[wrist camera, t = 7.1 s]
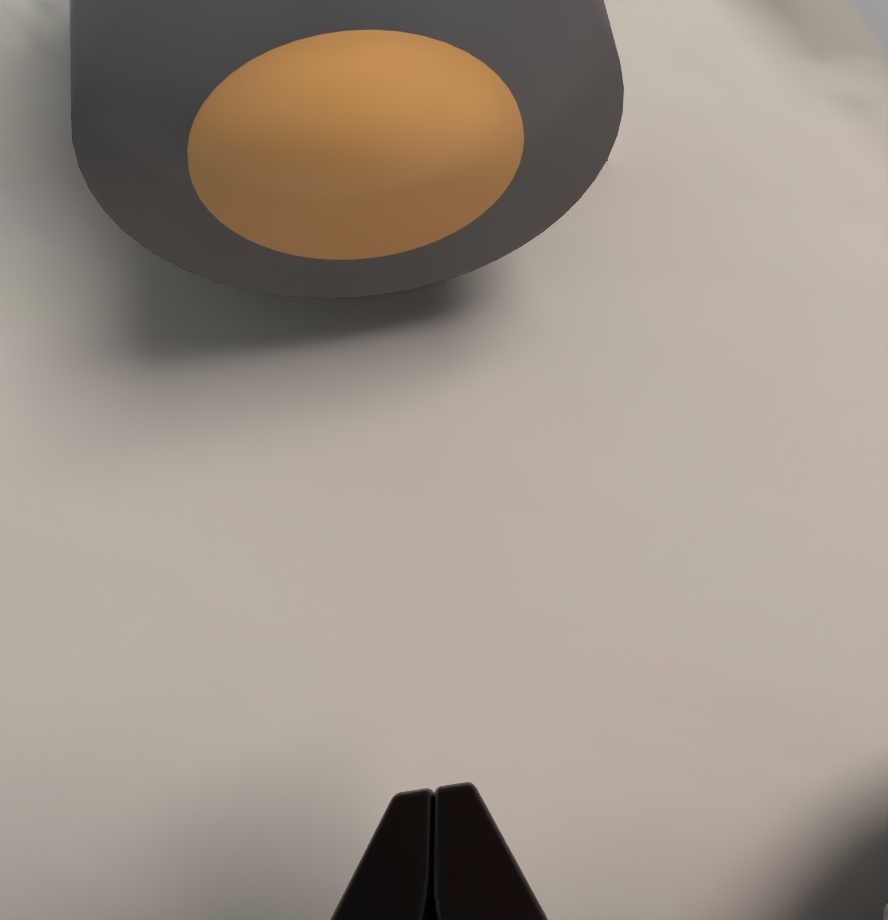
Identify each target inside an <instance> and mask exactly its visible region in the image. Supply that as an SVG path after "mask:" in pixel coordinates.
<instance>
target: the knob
mask: <svg viewBox="0 0 888 920" xmlns="http://www.w3.org/2000/svg"><path fill="white" fill-rule="evenodd" d="M70 39H71V120H72V140H73V145H74V149H75V153H76V157H77V161H78V165H79V168H80V170H81V172H82V174H83V176H84V178H85V181H86V183H87V185H88V187H89V189H90V191H91V192H92V194H93V195H94V197H95V198H96V199H97V201H98V202H99V204H100V205H101V207H102V208H103V209H104V211H105V212H106V213H107V214H108V215H109V216H110V217H111V218H112V219H113V220H114V221H115V222H116V223H117V224H118V226H119V227H120V228H121V229H122V230H124V231H125V232H126V233H127V234H129V235H130V236H131V237H132V238H134V239H135V240H136V241H137V242H139V243H140V244H141V245H142V246H144V247H145V248H147V249H149V250H150V251H152V252H153V253H155V254H157V255H158V256H160V257H161V258H163V259H165V260H167V261H169V262H171V263H173V264H175V265H177V266H179V267H181V268H183V269H185V270H187V271H189V272H192V273H194V274H197V275H200V276H202V277H205V278H208V279H210V280H213V281H216V282H220V283H223V284H227V285H230V286H234V287H237V288H242V289H247V290H252V291H257V292H261V293H267V294H275V295H283V296H291V297H308V298H348V297H361V296H373V295H380V294H386V293H393V292H400V291H404V290H409V289H414V288H418V287H423V286H427V285H430V284H434V283H437V282H441V281H444V280H448V279H451V278H454V277H456V276H459V275H462V274H465V273H467V272H470V271H473V270H475V269H478V268H480V267H482V266H484V265H486V264H489V263H491V262H493V261H495V260H497V259H499V258H501V257H503V256H505V255H507V254H509V253H510V252H512V251H514V250H516V249H518V248H519V247H521V246H523V245H524V244H526V243H527V242H529V241H530V240H532V239H533V238H535V237H536V236H538V235H539V234H541V233H542V232H543V231H545V230H546V229H547V228H548V227H550V226H551V225H552V224H553V223H555V222H556V221H557V220H558V219H559V218H561V217H562V216H563V215H564V214H565V213H566V212H567V211H568V210H569V209H570V208H571V207H572V206H573V205H574V204H575V203H576V202H577V201H578V200H579V199H580V198H581V197H582V195H583V194H584V193H585V192H586V190H587V189H588V188H589V186H590V185H591V184H592V183H593V181H594V180H595V179H596V177H597V175H598V174H599V172H600V170H601V169H602V167H603V165H604V164H605V162H606V160H607V159H608V156H609V154H610V152H611V149H612V147H613V144H614V142H615V140H616V137H617V134H618V130H619V125H620V121H621V117H622V113H623V93H624V86H623V79H622V72H621V65H620V60H619V56H618V53H617V49H616V45H615V41H614V38H613V34H612V30H611V26H610V22H609V19H608V15H607V11H606V7H605V4H604V0H70Z"/></svg>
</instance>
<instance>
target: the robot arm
mask: <svg viewBox="0 0 888 920" xmlns="http://www.w3.org/2000/svg"><path fill="white" fill-rule="evenodd" d="M331 920H548V919H547V917H546V915H545V913H544V911H543V910H542V908H541V906H540V904H539V902H538V900H537V899H536V897H535V895H534V893H533V891H532V889H531V888H530V886H529V884H528V882H527V880H526V878H525V876H524V875H523V873H522V871H521V869H520V867H519V865H518V864H517V862H516V860H515V858H514V856H513V854H512V853H511V851H510V849H509V847H508V845H507V843H506V842H505V840H504V838H503V836H502V834H501V832H500V831H499V829H498V827H497V825H496V823H495V821H494V819H493V818H492V816H491V814H490V812H489V810H488V808H487V807H486V805H485V803H484V801H483V799H482V797H481V796H480V794H479V792H478V790H477V788H476V787H475V786H474V785H473V784H472V783H470V782H466V783H459V784H453V785H446V786H440V787H438V788H437V789H436V791H435V793H434V792H433V791H432V790H430V789H427V788H426V789H420V790H413V791H406V792H400V793H397V794H396V795H395V796H394V797H393V798H392V800H391V801H390V803H389V805H388V807H387V809H386V811H385V813H384V815H383V817H382V819H381V821H380V823H379V825H378V827H377V829H376V831H375V833H374V835H373V837H372V839H371V841H370V843H369V845H368V847H367V849H366V851H365V853H364V855H363V857H362V859H361V861H360V863H359V865H358V867H357V869H356V870H355V872H354V874H353V876H352V878H351V880H350V882H349V884H348V886H347V888H346V890H345V892H344V894H343V896H342V898H341V900H340V902H339V904H338V906H337V908H336V910H335V912H334V914H333V916H332V918H331Z"/></svg>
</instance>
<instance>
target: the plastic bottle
mask: <svg viewBox="0 0 888 920" xmlns="http://www.w3.org/2000/svg"><path fill="white" fill-rule="evenodd" d="M883 919H884V920H888V903H887V904H886V905H885V907H884V908H883Z"/></svg>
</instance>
